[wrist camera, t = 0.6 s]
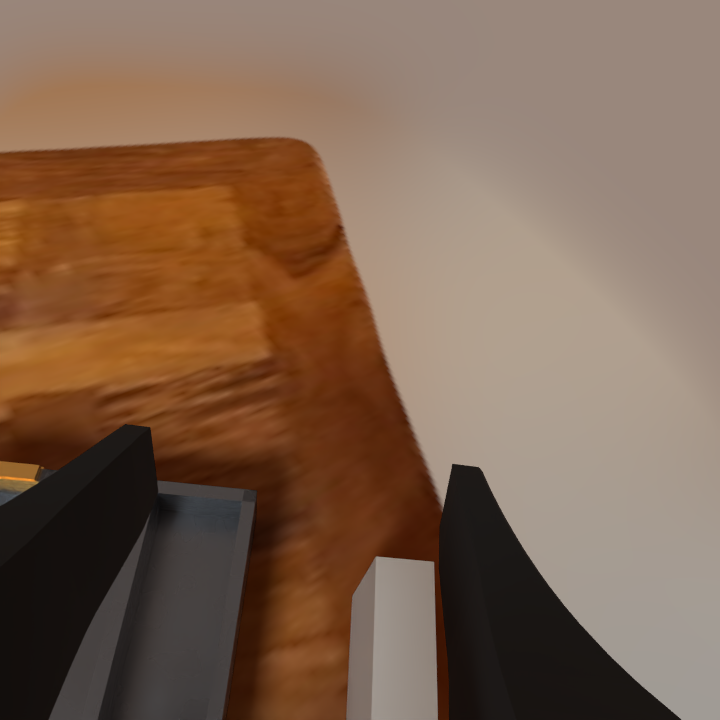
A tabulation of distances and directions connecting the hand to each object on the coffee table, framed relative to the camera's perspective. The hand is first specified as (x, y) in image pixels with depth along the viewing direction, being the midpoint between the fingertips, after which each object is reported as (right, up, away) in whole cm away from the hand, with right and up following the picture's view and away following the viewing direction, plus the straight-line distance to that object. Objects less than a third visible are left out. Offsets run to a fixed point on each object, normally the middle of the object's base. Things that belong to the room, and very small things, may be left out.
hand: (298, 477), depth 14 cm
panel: (+2, -13, +13) cm, 19 cm away
